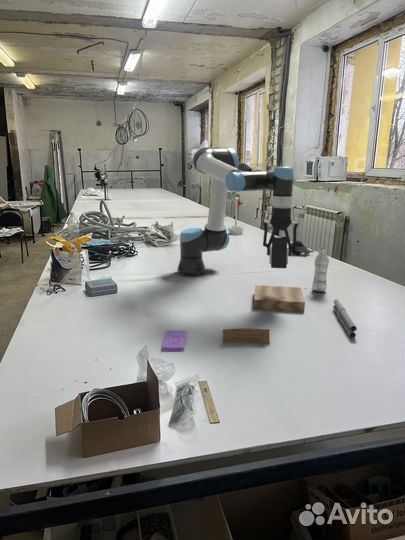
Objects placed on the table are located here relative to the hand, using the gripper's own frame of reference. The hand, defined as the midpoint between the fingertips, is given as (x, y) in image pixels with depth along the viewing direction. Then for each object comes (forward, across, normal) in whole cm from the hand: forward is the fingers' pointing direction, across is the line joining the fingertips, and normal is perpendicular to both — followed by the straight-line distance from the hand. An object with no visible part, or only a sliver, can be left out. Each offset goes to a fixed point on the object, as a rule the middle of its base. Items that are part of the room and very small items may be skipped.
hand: (278, 263), depth 152 cm
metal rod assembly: (+18, +24, -17) cm, 34 cm away
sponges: (+18, -34, -42) cm, 57 cm away
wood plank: (+18, -10, -39) cm, 44 cm away
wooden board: (+17, +1, 0) cm, 17 cm away
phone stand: (+1, 0, 0) cm, 1 cm away
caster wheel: (+17, +17, +86) cm, 90 cm away
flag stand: (+17, -31, +150) cm, 154 cm away
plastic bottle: (+17, +20, +18) cm, 32 cm away
